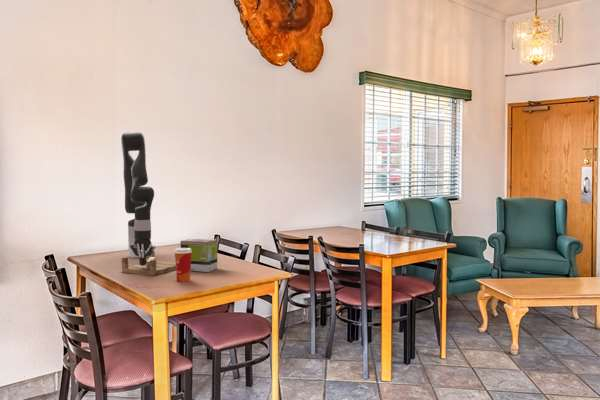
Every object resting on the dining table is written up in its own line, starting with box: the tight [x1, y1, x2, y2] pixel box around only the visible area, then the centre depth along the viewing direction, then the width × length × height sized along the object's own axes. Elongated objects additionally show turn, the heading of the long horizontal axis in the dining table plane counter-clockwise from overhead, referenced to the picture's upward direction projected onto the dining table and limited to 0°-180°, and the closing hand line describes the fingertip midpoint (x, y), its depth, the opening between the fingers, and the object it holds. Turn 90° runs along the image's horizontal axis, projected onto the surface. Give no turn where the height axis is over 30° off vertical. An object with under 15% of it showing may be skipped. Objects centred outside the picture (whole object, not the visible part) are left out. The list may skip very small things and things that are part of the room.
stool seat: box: [121, 250, 176, 277], centre depth 233 cm, size 20×19×7 cm
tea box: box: [180, 237, 218, 273], centre depth 234 cm, size 15×10×15 cm, turn 71°
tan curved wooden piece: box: [146, 254, 157, 268], centre depth 234 cm, size 15×2×4 cm, turn 10°
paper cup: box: [173, 247, 192, 283], centre depth 211 cm, size 8×8×14 cm
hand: (142, 265), depth 229 cm, fingers closed
